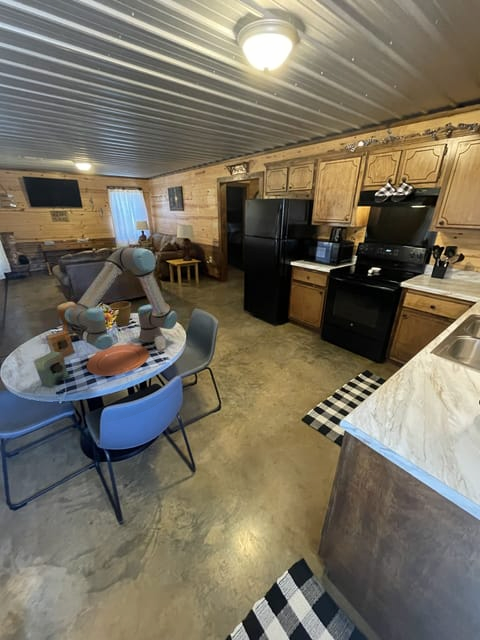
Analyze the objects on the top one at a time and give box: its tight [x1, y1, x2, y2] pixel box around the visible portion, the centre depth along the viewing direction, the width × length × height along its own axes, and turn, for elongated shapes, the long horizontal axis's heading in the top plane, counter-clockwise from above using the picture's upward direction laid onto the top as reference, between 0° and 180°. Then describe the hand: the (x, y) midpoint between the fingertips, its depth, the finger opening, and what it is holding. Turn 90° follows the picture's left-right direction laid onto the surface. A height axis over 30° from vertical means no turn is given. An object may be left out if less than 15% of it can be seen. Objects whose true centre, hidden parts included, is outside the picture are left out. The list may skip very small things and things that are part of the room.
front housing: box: [33, 351, 69, 388], centre depth 132 cm, size 6×10×14 cm, turn 163°
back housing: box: [45, 329, 76, 358], centre depth 156 cm, size 6×10×14 cm, turn 148°
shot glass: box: [154, 335, 167, 351], centre depth 165 cm, size 7×7×7 cm
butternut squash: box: [56, 301, 79, 339], centre depth 175 cm, size 14×13×25 cm
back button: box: [58, 341, 68, 349], centre depth 153 cm, size 3×4×4 cm
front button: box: [51, 364, 63, 373], centre depth 131 cm, size 3×4×4 cm
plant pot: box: [108, 301, 132, 327], centre depth 197 cm, size 15×15×16 cm
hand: (68, 324), depth 144 cm, fingers closed
